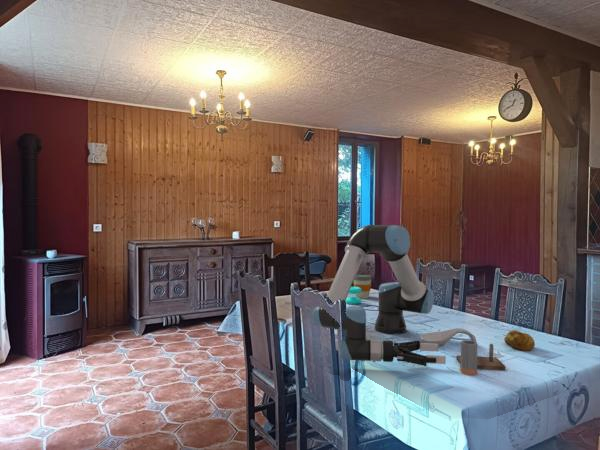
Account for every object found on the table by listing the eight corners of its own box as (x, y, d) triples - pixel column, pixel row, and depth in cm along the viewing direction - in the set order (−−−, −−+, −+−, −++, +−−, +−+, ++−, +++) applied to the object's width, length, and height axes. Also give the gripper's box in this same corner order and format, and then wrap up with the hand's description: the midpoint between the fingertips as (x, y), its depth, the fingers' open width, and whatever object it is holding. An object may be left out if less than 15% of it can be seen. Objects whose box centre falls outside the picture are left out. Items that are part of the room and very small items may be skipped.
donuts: (363, 288, 267) (347, 289, 266) (363, 304, 268) (347, 305, 267) (359, 286, 277) (344, 286, 276) (359, 301, 278) (344, 301, 276)
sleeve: (462, 374, 152) (463, 344, 151) (459, 369, 157) (459, 339, 157) (478, 375, 151) (479, 344, 151) (474, 370, 156) (474, 340, 156)
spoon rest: (424, 349, 181) (424, 332, 181) (417, 341, 193) (417, 325, 192) (480, 349, 181) (480, 333, 181) (469, 341, 193) (470, 325, 192)
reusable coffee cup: (352, 298, 286) (352, 276, 286) (353, 295, 298) (353, 273, 298) (371, 299, 284) (371, 277, 284) (371, 295, 296) (371, 274, 296)
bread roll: (498, 343, 189) (499, 325, 189) (518, 342, 191) (518, 324, 191) (519, 352, 176) (519, 333, 176) (539, 351, 178) (540, 332, 178)
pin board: (462, 368, 158) (463, 346, 158) (456, 359, 168) (456, 338, 168) (505, 370, 156) (505, 348, 156) (496, 361, 166) (496, 340, 166)
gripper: (379, 350, 170) (434, 352, 167) (384, 373, 145) (449, 376, 143) (380, 331, 170) (435, 333, 167) (384, 351, 145) (449, 354, 142)
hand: (441, 353), depth 155 cm, fingers open, 13 cm apart
